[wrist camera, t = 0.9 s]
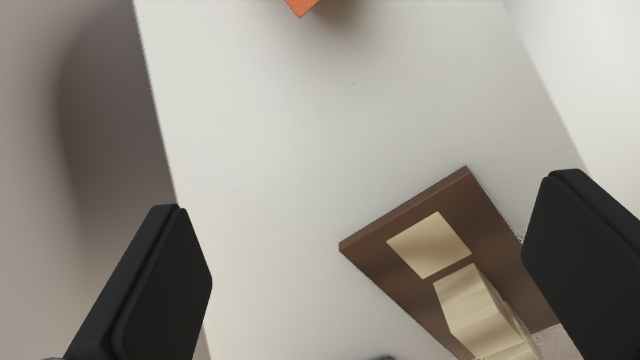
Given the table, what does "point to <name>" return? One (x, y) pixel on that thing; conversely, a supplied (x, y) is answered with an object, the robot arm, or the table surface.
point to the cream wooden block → (476, 312)
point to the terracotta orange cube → (301, 6)
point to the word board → (446, 255)
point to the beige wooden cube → (523, 355)
